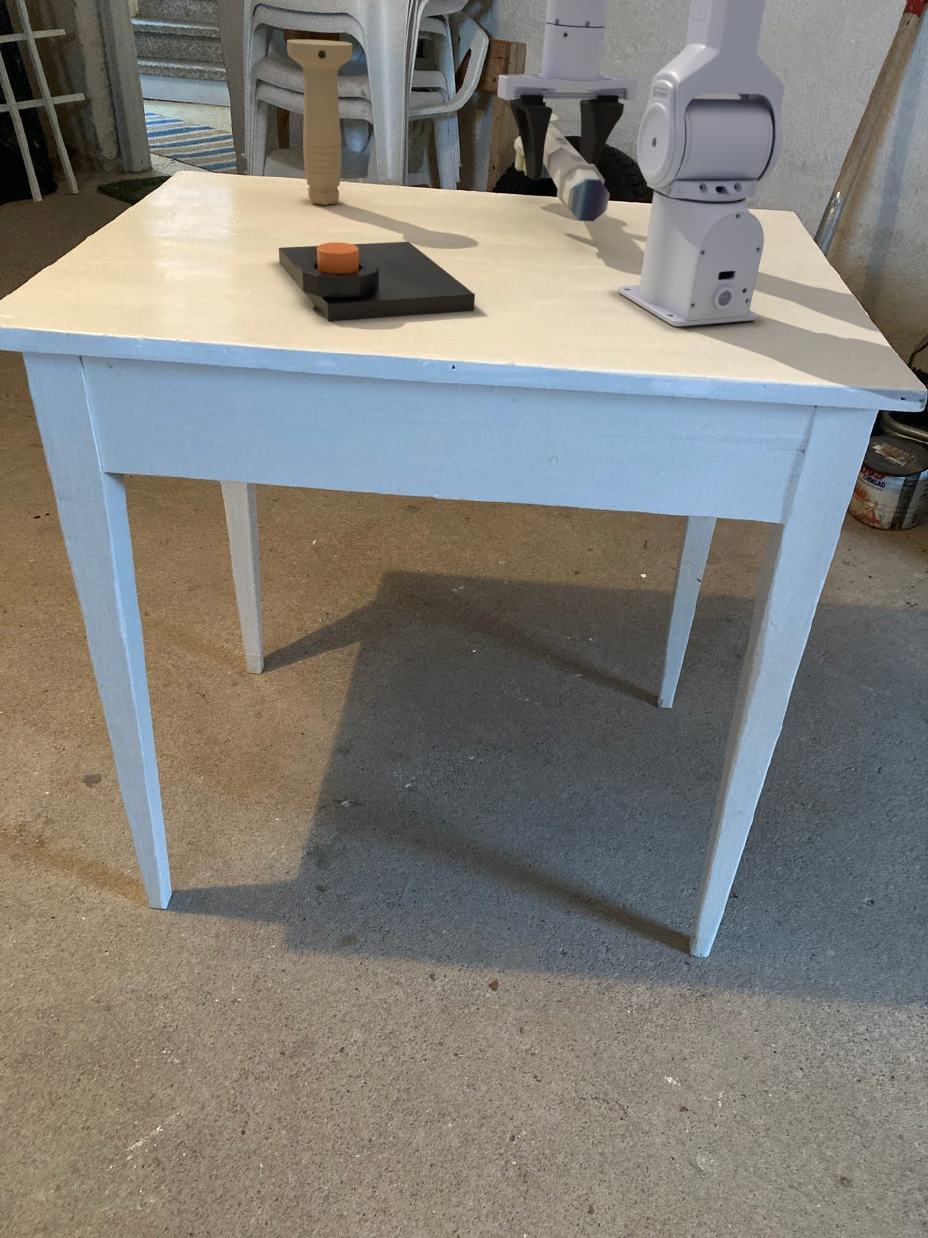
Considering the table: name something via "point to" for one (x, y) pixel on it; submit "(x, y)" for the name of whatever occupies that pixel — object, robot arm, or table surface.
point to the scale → (378, 283)
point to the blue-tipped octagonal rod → (569, 175)
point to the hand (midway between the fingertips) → (559, 177)
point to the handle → (321, 114)
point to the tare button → (338, 257)
